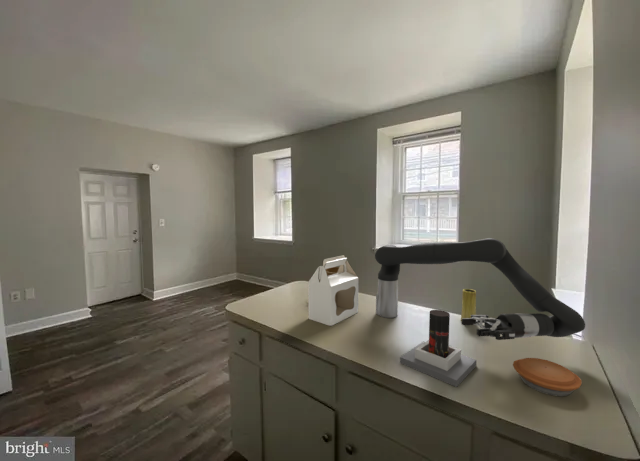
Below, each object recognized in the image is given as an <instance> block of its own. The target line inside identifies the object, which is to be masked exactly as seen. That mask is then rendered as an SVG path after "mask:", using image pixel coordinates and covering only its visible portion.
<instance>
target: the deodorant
mask: <svg viewBox="0 0 640 461" xmlns="http://www.w3.org/2000/svg"><path fill="white" fill-rule="evenodd" d="M450 316H451V314H450V312H448V311H446V310H443V309H442V310H441V309H432V310H430V311H429V318H428V319H429V322H428V323H429V324H428V325H429V326H428V328H429V329H428V340H429V353H432V354H435V355H437V356H440V357H443V358H446V357H448V353H449V346H450V342H449V341H450V318H451V317H450Z"/></svg>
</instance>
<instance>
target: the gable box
mask: <svg viewBox="0 0 640 461" xmlns="http://www.w3.org/2000/svg"><path fill="white" fill-rule="evenodd" d="M347 259H348V257H345V255H343V254H342V255H337V256H332V257H327V258H324V259H322V263H321V265H320V266H318V267H317V268H316V269H315V272H314V273H313V275H312V276H311V278H309V280H308V282H307V285H308V287H307V288H308V295H307V297H308V320H311V321H314V322H317V323H320V324H323V325H327V326H329V327H332V326H334V325H335V324H337V323H340V322H342V321H344V320H346V319H348V318H350V317H351V316H353V315H356V314H357V313H359V276H358V275H357V273H356V271H355V270H354V269H353V267H352V266H351V264H350V262H349V261H348V260H347ZM332 267H339V270H338V272H337V273H336V274H333V275H329V276H327V272H326V269H328V268H332Z"/></svg>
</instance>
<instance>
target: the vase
mask: <svg viewBox="0 0 640 461" xmlns="http://www.w3.org/2000/svg"><path fill="white" fill-rule="evenodd" d="M461 299H462V300H461V314H460V323H462V318H471V315H477V308H476V306H477V291H476V290H475V289H472V288H463V289H462V298H461Z"/></svg>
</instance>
